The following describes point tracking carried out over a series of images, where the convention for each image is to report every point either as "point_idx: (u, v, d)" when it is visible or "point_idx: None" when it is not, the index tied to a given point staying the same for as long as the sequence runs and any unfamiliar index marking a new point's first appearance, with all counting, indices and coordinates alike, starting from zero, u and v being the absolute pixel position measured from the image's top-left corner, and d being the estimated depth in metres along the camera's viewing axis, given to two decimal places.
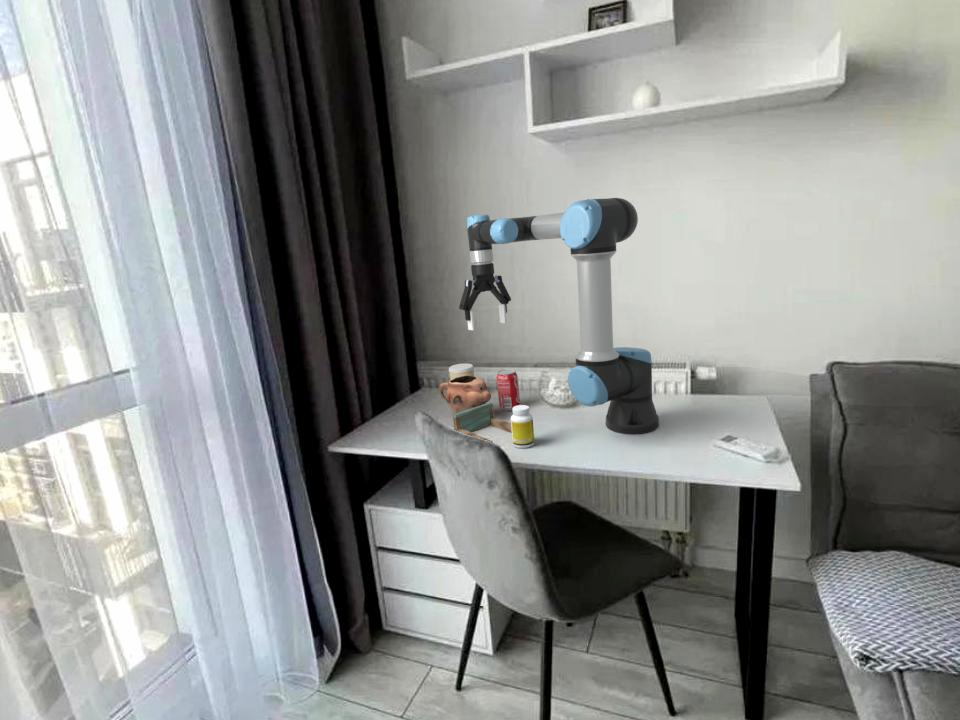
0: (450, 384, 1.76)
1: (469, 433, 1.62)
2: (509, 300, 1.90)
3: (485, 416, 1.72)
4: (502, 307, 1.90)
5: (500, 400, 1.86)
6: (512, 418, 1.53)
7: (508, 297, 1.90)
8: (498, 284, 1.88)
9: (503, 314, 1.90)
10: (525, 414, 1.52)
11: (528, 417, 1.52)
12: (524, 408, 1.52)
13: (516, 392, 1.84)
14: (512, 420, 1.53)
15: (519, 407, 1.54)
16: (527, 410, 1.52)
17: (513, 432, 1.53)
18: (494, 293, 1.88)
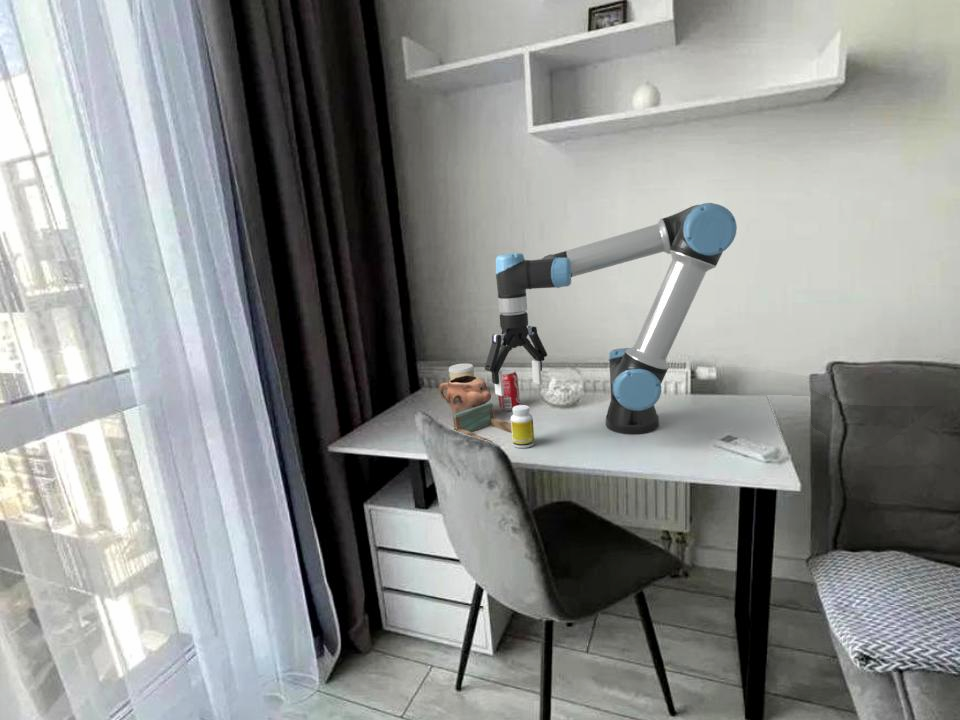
0: (450, 384, 1.76)
1: (469, 433, 1.62)
2: (545, 356, 1.55)
3: (485, 416, 1.72)
4: (536, 365, 1.54)
5: (500, 400, 1.86)
6: (512, 418, 1.53)
7: (544, 352, 1.54)
8: (532, 337, 1.53)
9: (537, 373, 1.54)
10: (525, 414, 1.52)
11: (528, 417, 1.52)
12: (524, 408, 1.52)
13: (516, 392, 1.84)
14: (512, 420, 1.53)
15: (519, 407, 1.54)
16: (527, 410, 1.52)
17: (513, 432, 1.53)
18: (527, 348, 1.52)
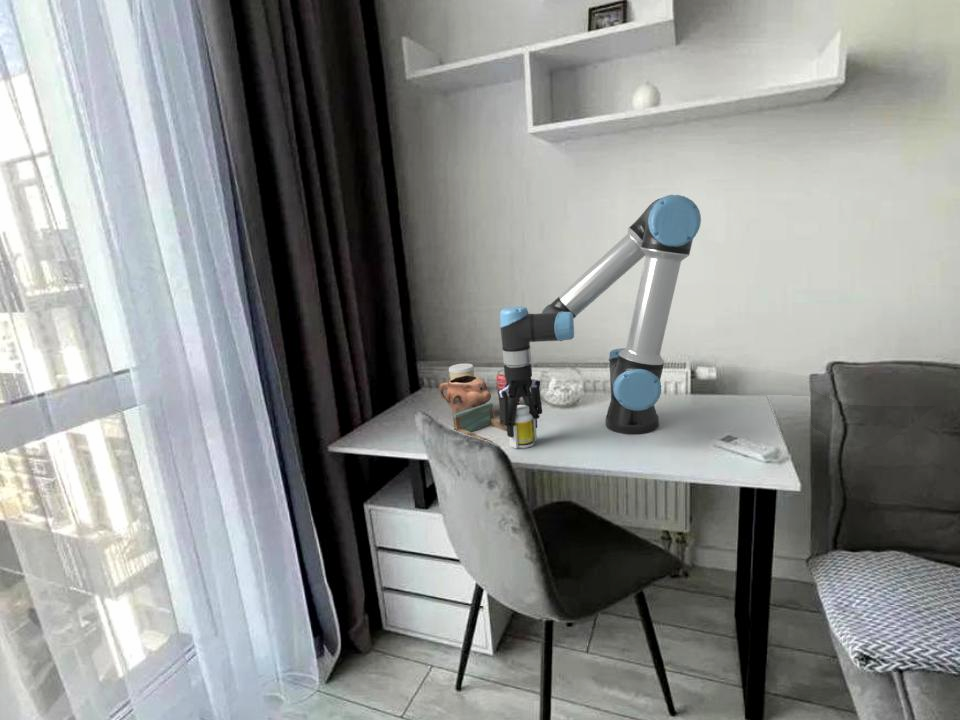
0: (450, 384, 1.76)
1: (469, 433, 1.62)
2: (540, 413, 1.56)
3: (485, 416, 1.72)
4: None
5: None
6: None
7: (540, 409, 1.56)
8: (533, 390, 1.55)
9: None
10: (525, 414, 1.52)
11: (528, 417, 1.52)
12: (524, 408, 1.52)
13: None
14: None
15: (519, 407, 1.54)
16: (527, 410, 1.52)
17: None
18: (526, 401, 1.54)
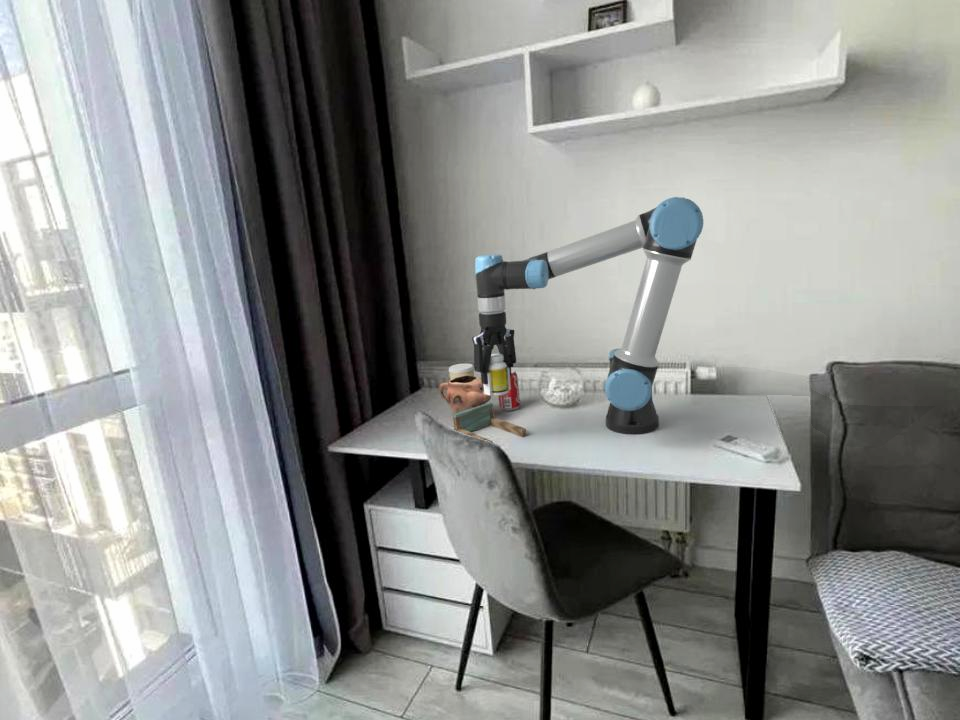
0: (450, 384, 1.76)
1: (469, 433, 1.62)
2: (514, 362, 1.59)
3: (485, 416, 1.72)
4: None
5: (500, 400, 1.86)
6: None
7: (514, 358, 1.59)
8: (508, 340, 1.58)
9: None
10: (499, 361, 1.54)
11: (502, 364, 1.55)
12: (498, 356, 1.55)
13: (516, 392, 1.84)
14: None
15: (493, 355, 1.56)
16: (501, 358, 1.54)
17: None
18: (500, 350, 1.57)
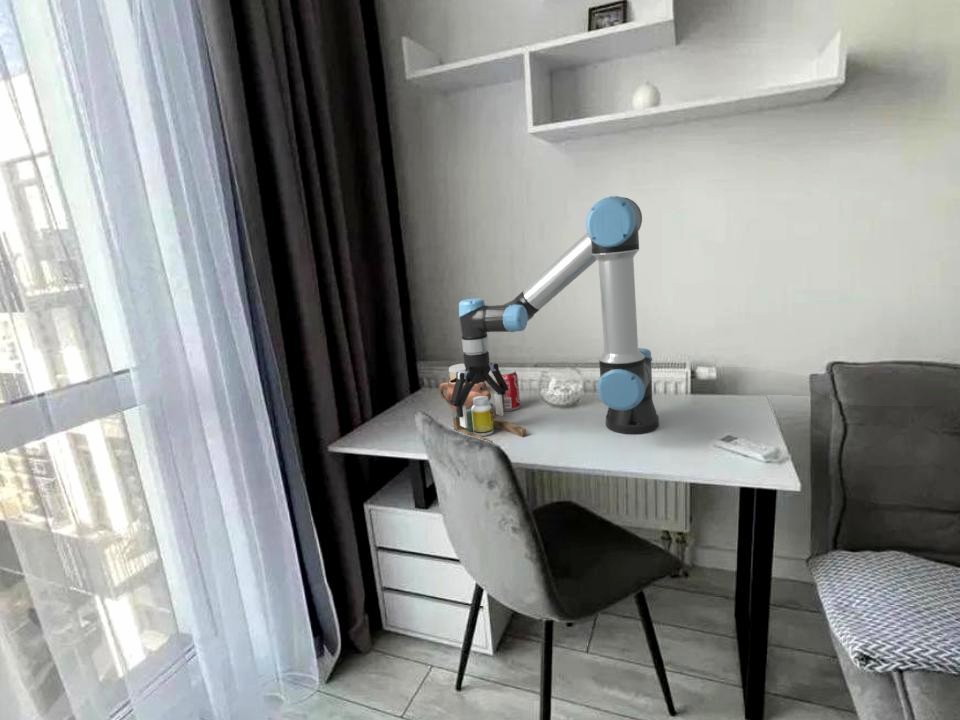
0: (450, 384, 1.76)
1: (469, 433, 1.62)
2: (506, 389, 1.69)
3: None
4: (498, 398, 1.69)
5: None
6: (472, 408, 1.65)
7: (505, 386, 1.69)
8: (494, 373, 1.67)
9: (499, 405, 1.69)
10: (484, 404, 1.64)
11: (487, 406, 1.64)
12: (483, 398, 1.64)
13: (516, 392, 1.84)
14: (472, 410, 1.65)
15: (479, 398, 1.65)
16: (486, 400, 1.64)
17: (473, 421, 1.65)
18: (489, 383, 1.67)
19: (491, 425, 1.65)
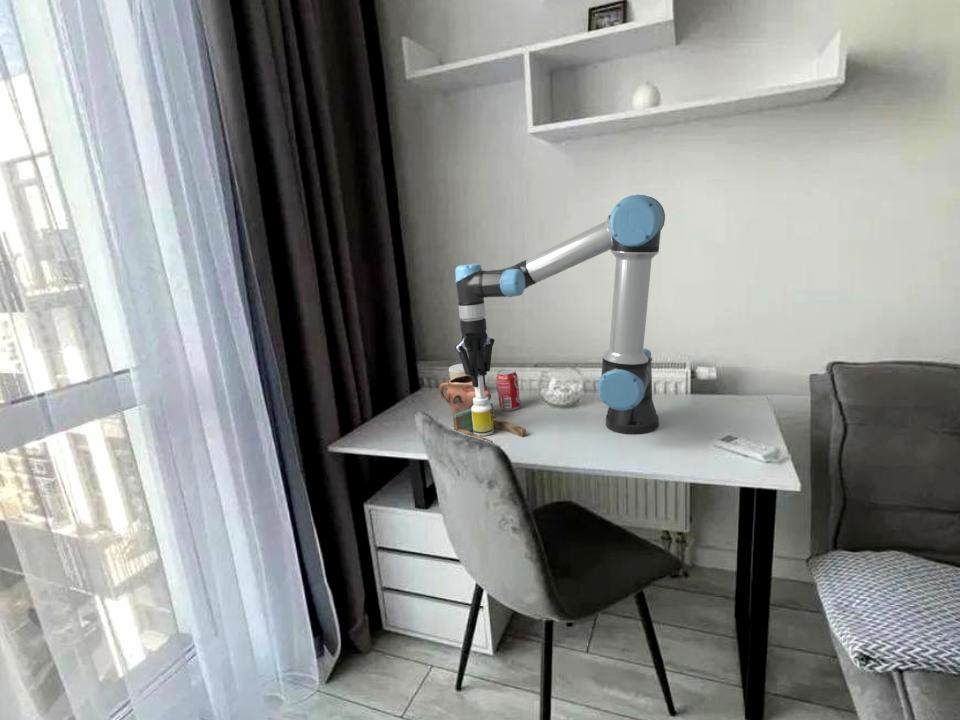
0: (450, 384, 1.76)
1: (469, 433, 1.62)
2: (487, 370, 1.64)
3: None
4: None
5: (500, 400, 1.86)
6: (472, 408, 1.65)
7: (488, 366, 1.64)
8: (486, 347, 1.64)
9: None
10: (484, 404, 1.64)
11: (487, 407, 1.64)
12: (483, 399, 1.64)
13: (516, 392, 1.84)
14: (472, 410, 1.65)
15: (479, 398, 1.65)
16: (486, 400, 1.64)
17: (473, 421, 1.65)
18: (478, 356, 1.63)
19: (491, 425, 1.65)
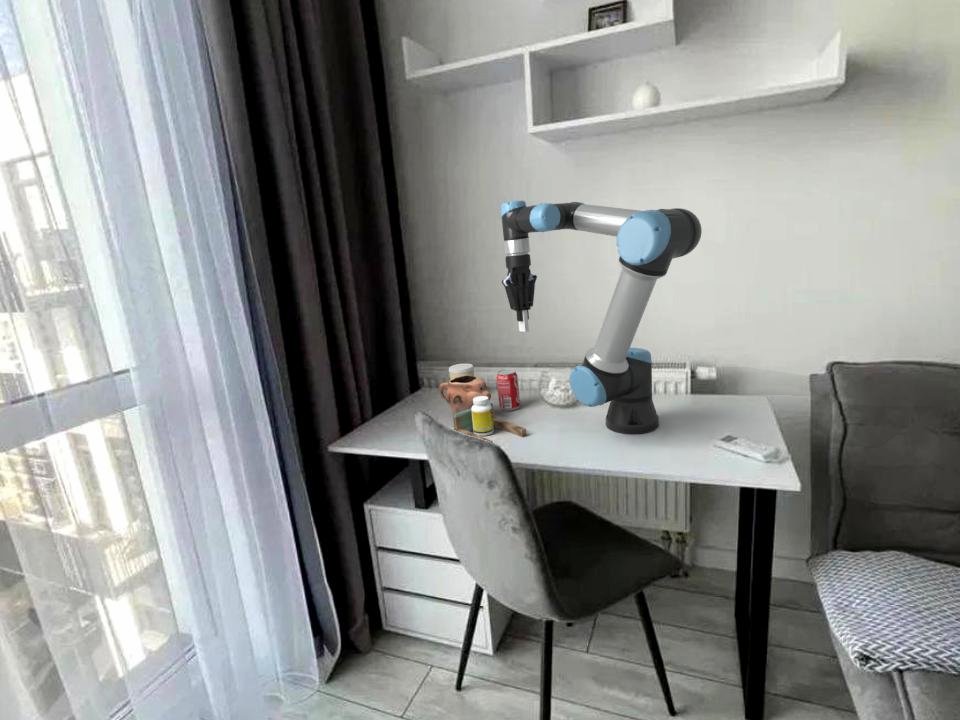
0: (450, 384, 1.76)
1: (469, 433, 1.62)
2: (531, 305, 1.71)
3: None
4: None
5: (500, 400, 1.86)
6: (472, 408, 1.65)
7: (532, 301, 1.71)
8: (529, 283, 1.71)
9: None
10: (484, 404, 1.64)
11: (487, 407, 1.64)
12: (483, 399, 1.64)
13: (516, 392, 1.84)
14: (472, 410, 1.65)
15: (479, 398, 1.65)
16: (486, 400, 1.64)
17: (473, 421, 1.65)
18: (522, 291, 1.70)
19: (491, 425, 1.65)
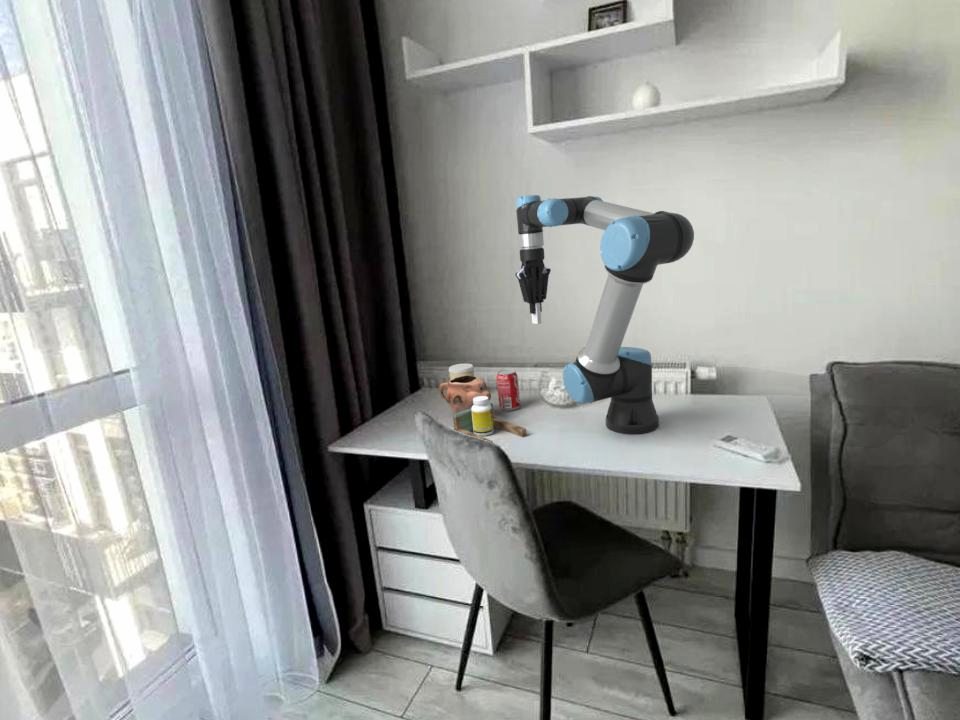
0: (450, 384, 1.76)
1: (469, 433, 1.62)
2: (544, 298, 1.74)
3: None
4: None
5: (500, 400, 1.86)
6: (472, 408, 1.65)
7: (545, 294, 1.75)
8: (543, 276, 1.75)
9: None
10: (484, 404, 1.64)
11: (487, 407, 1.64)
12: (483, 399, 1.64)
13: (516, 392, 1.84)
14: (472, 410, 1.65)
15: (479, 398, 1.65)
16: (486, 400, 1.64)
17: (473, 421, 1.65)
18: (535, 284, 1.73)
19: (491, 425, 1.65)
